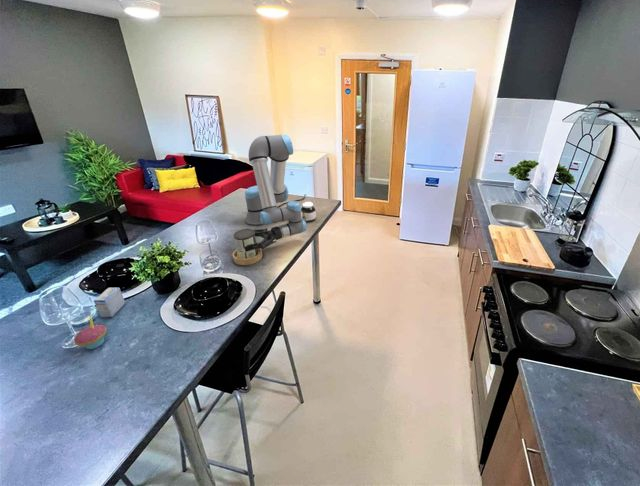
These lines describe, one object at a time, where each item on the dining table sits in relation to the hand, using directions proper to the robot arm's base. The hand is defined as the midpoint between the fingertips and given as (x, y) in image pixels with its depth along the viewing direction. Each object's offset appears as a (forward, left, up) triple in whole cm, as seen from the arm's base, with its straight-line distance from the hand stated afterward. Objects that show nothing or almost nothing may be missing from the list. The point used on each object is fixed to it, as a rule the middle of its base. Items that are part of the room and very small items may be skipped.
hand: (240, 243), depth 150 cm
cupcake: (+62, -14, -9) cm, 64 cm away
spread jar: (-53, +10, -9) cm, 55 cm away
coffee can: (-2, +2, -9) cm, 9 cm away
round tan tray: (-2, +2, -9) cm, 10 cm away
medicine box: (+48, -25, -10) cm, 55 cm away
